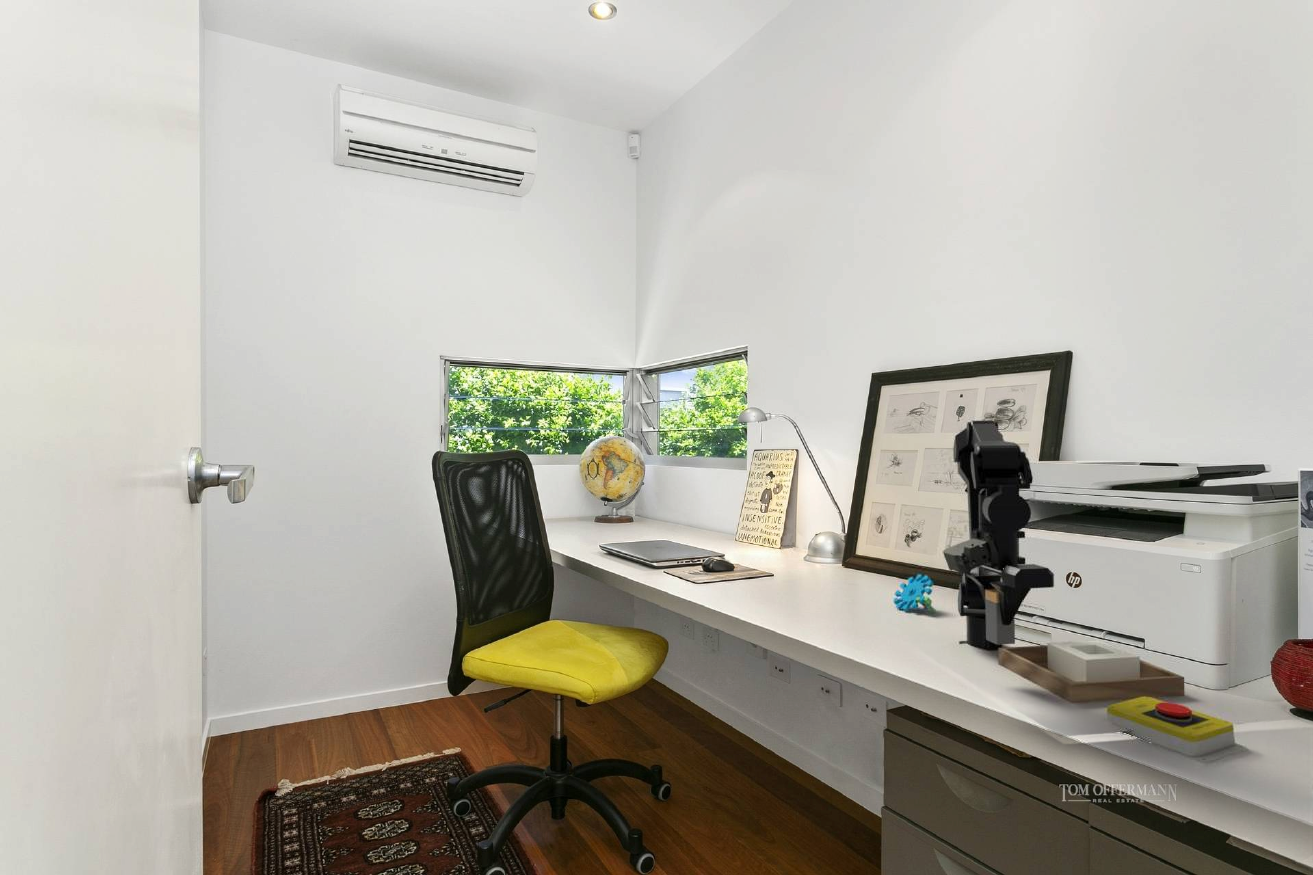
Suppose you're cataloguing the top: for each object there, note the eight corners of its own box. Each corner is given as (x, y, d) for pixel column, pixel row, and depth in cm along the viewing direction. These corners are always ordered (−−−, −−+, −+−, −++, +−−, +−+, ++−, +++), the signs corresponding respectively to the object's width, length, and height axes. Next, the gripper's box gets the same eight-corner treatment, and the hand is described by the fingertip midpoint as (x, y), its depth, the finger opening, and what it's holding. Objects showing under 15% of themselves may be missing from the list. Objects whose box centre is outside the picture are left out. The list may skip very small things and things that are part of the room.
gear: (884, 597, 170) (914, 566, 170) (900, 613, 171) (930, 583, 171) (907, 615, 159) (939, 582, 159) (924, 632, 160) (956, 600, 160)
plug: (986, 639, 117) (985, 589, 117) (1003, 638, 117) (1002, 588, 117) (996, 644, 114) (996, 593, 114) (1014, 643, 114) (1014, 592, 114)
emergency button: (1206, 731, 87) (1087, 692, 101) (1207, 768, 87) (1087, 724, 101) (1251, 718, 91) (1130, 681, 105) (1251, 753, 91) (1130, 712, 105)
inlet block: (1047, 668, 120) (1047, 642, 120) (1097, 665, 122) (1097, 640, 122) (1086, 687, 112) (1085, 659, 112) (1140, 683, 113) (1139, 656, 113)
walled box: (998, 668, 123) (998, 647, 123) (1096, 662, 125) (1096, 642, 125) (1071, 708, 105) (1071, 684, 105) (1184, 700, 107) (1184, 677, 107)
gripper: (921, 518, 124) (923, 610, 124) (984, 533, 105) (985, 641, 105) (983, 516, 125) (984, 607, 125) (1055, 530, 107) (1057, 637, 107)
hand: (1000, 622), depth 116 cm, fingers closed on plug, 3 cm apart
